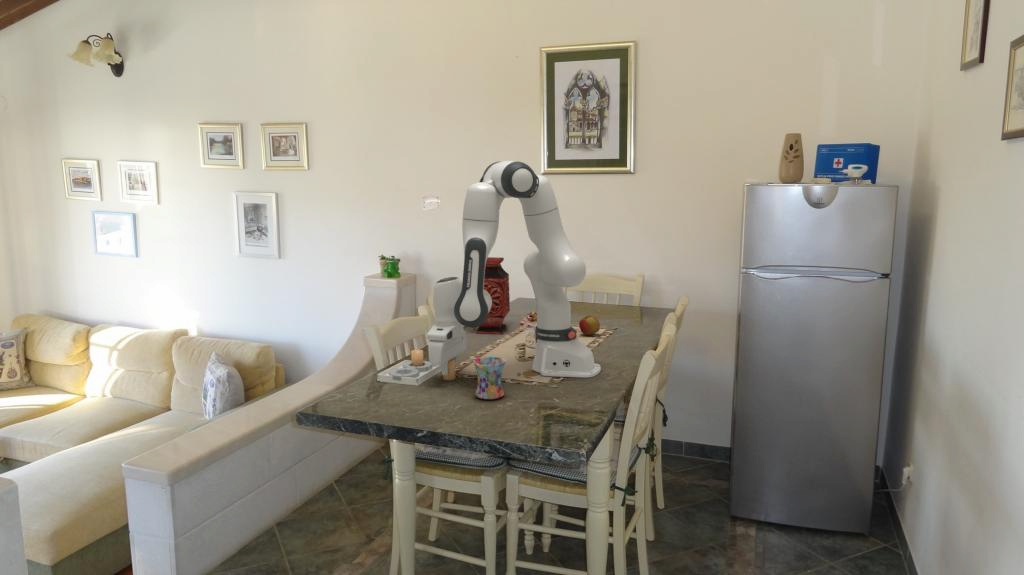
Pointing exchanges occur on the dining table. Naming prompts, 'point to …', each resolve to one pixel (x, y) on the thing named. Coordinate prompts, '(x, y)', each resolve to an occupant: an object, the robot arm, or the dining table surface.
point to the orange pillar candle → (450, 370)
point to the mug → (489, 377)
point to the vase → (496, 296)
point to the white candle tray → (410, 371)
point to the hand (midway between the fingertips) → (449, 372)
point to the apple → (589, 325)
